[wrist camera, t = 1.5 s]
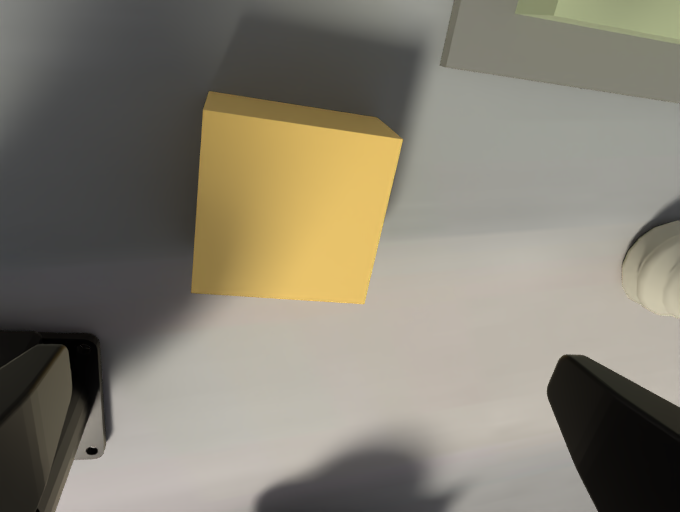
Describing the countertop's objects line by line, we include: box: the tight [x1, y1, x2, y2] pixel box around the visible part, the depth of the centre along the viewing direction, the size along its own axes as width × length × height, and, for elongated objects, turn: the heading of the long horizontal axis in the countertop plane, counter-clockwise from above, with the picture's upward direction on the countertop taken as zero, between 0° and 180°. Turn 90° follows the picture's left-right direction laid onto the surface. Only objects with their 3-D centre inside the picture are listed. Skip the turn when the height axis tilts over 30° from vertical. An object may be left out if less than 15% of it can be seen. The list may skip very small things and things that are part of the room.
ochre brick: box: [191, 91, 403, 304], centre depth 18 cm, size 6×6×4 cm
